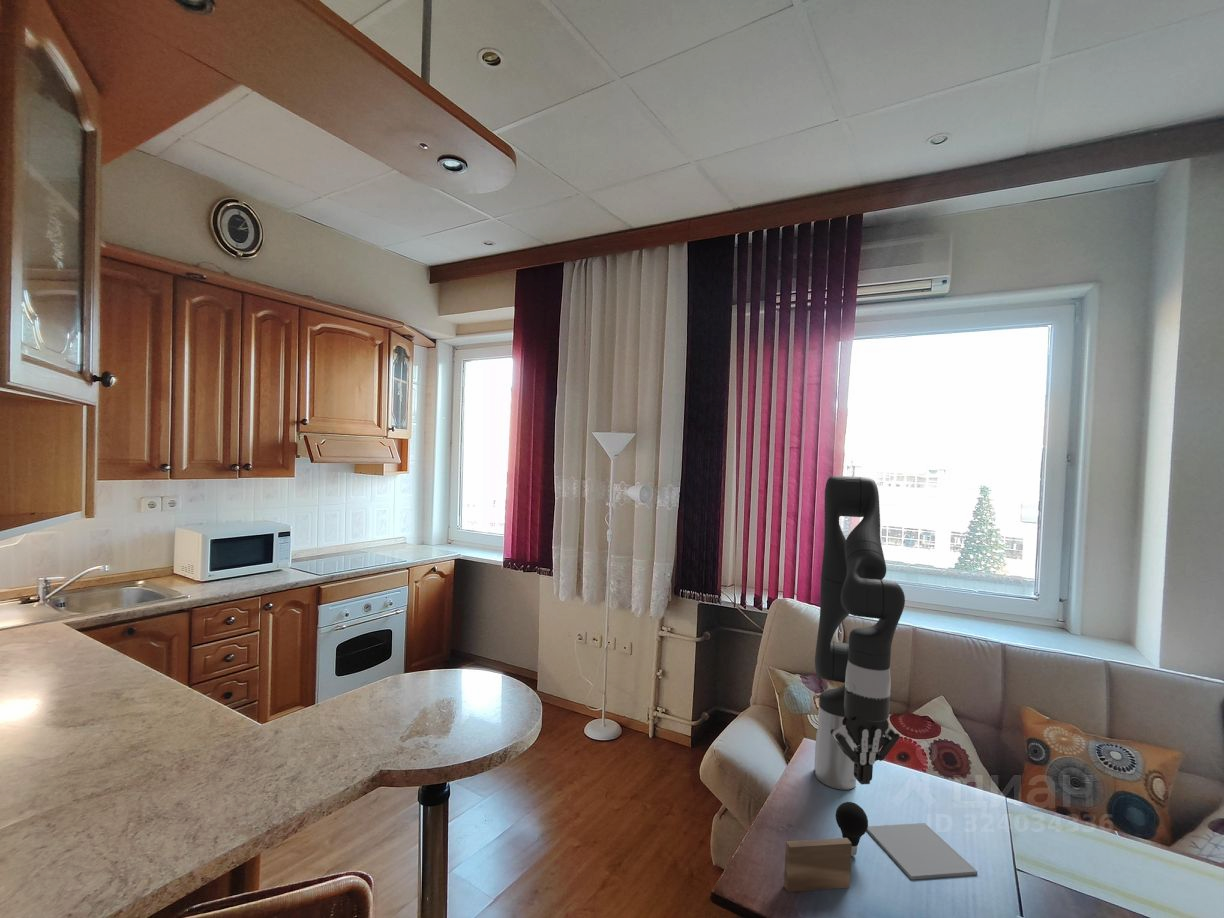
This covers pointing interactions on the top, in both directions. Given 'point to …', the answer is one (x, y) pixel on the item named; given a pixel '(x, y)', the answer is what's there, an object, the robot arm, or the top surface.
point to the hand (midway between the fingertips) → (862, 781)
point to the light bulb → (852, 823)
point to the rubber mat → (920, 851)
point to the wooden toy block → (817, 864)
